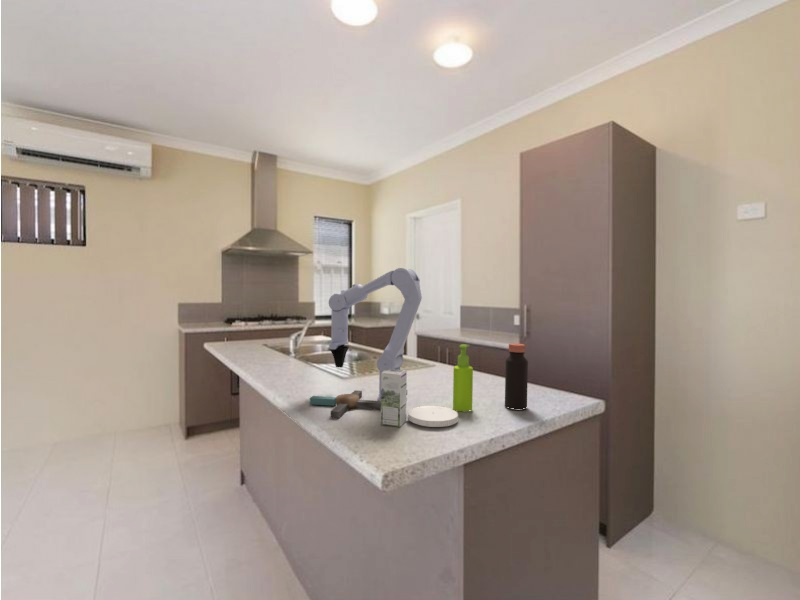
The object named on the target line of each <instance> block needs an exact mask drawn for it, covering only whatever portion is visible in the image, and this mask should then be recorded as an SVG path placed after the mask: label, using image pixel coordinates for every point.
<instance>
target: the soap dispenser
mask: <svg viewBox="0 0 800 600" xmlns="http://www.w3.org/2000/svg"><path fill="white" fill-rule="evenodd" d="M470 346H471V345H470V344H464V343H461V344H460V345H459V348H460V354H459V355H457V365H455V366H453V376H452V377H453V379H452V380H453V386H452V390H453V391H452V397H453V398H452V410H453V409H454V410H457V411H456V412H458V411H469V410H472V411H473V388H474V387H473V381H474V376H473V375H474V368H473V367H472V366H470V356H469V355H468V354H467V348H468V347H470Z"/></svg>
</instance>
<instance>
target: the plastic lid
mask: <svg viewBox="0 0 800 600" xmlns="http://www.w3.org/2000/svg"><path fill="white" fill-rule="evenodd" d="M407 420H408V421H410V422H411V423H413V424H415V425H418V426H422V427H429V428H431V427H432V428H438V427H439V428H440V427H441V428H442V427H449V426H452V425H455V424H456V423H458V421H459V413H458V411H455V410H453V408H450V407H445V406H438V405H421V406H415V407H414V408H413V407H412V408H410V409H409V410H408V411H407Z"/></svg>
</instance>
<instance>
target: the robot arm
mask: <svg viewBox="0 0 800 600" xmlns="http://www.w3.org/2000/svg"><path fill="white" fill-rule="evenodd" d="M351 286H352V287H350V288H348V289H346V290H341V291H340V294H339V293H334V294H332V295H331V296H330V297H329V299H328V306H329V308H330V309H331V326H330V327H331V330H330V331H331V335H330V338H331V340H330V339H329V340H328V341H327V343H328V344H329V351H330V352H331V354H332V356H333V357H332V358H333V361H334V364H335V368H343V367H344V363H345V359H346V355H347V352H348V350H349V348H350V347H349V329H348V328H349V309H350V308H351V307H353V306H354V305H356V304H358V303H361V302H363V301H365V300H367V298H368V296H369V294H371V293H374V292H376V291H378V290H381V289H382V288H386V287H387V286H394V287H395V288H396V289H398V290H399V291H400V293H401V295H402V297H403V299H404V302H403V304H402V307H401V309H400V312H399V314H398V317H397V320H396V323H395V325H394V328H393V331H392V333H391V337H390V339H389V343H388V344H387V346H386V347H385V348H384V349H383V353H382V354H381V355H380V356H379V357H378V358H377V361H376V367H377V369H378V372H379V373H378V374H379V375H378V376H379V377H378V378H379V379H378V381H379V382H378V384H379V386H378V387H379V388H378V389H379V391H378V396H377V400H376V401H381V373H382V372H383V371H384V370H386V369H395V370H401V367H402V366H403V363H404V353H405V349H404V347H405V344H406V341H407V339H408V336H409V334H410V332H411V328H412V327H413V323H414V321H415V317H416V316H417V312H418V310H419V307H420V305H421V302H422V299H423V297H422V292H421V291H422V290H421V284H420V278H419V276H418V274H417V273H416V272H415V271H414V270H413V269H407V268H404V267H399V268H395V269H394V270H390V271H388V272H386V273H385V274H382V275H380V276H378V277H377V278H375V279H373V280H371V281H370V282H368V283H366V284H364V285H363V284H360V283H358V284H357V283H354V284H352V285H351ZM407 386H408V383H407V384H406V396H408V389H407Z"/></svg>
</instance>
